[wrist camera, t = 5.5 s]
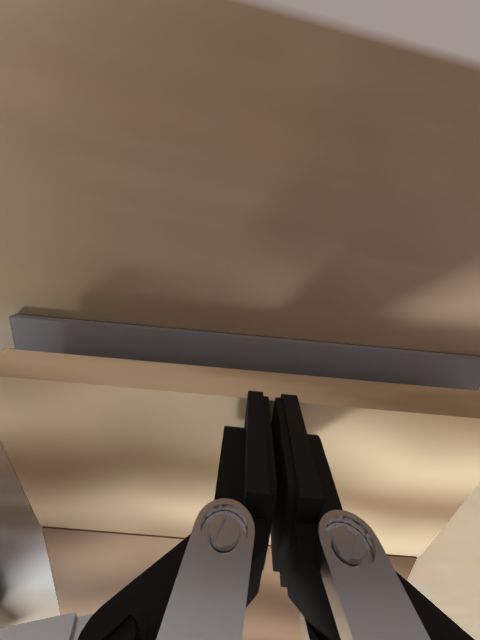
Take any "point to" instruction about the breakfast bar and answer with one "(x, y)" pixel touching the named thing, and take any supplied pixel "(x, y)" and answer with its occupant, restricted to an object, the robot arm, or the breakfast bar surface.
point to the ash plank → (206, 440)
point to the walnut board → (142, 552)
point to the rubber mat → (245, 352)
